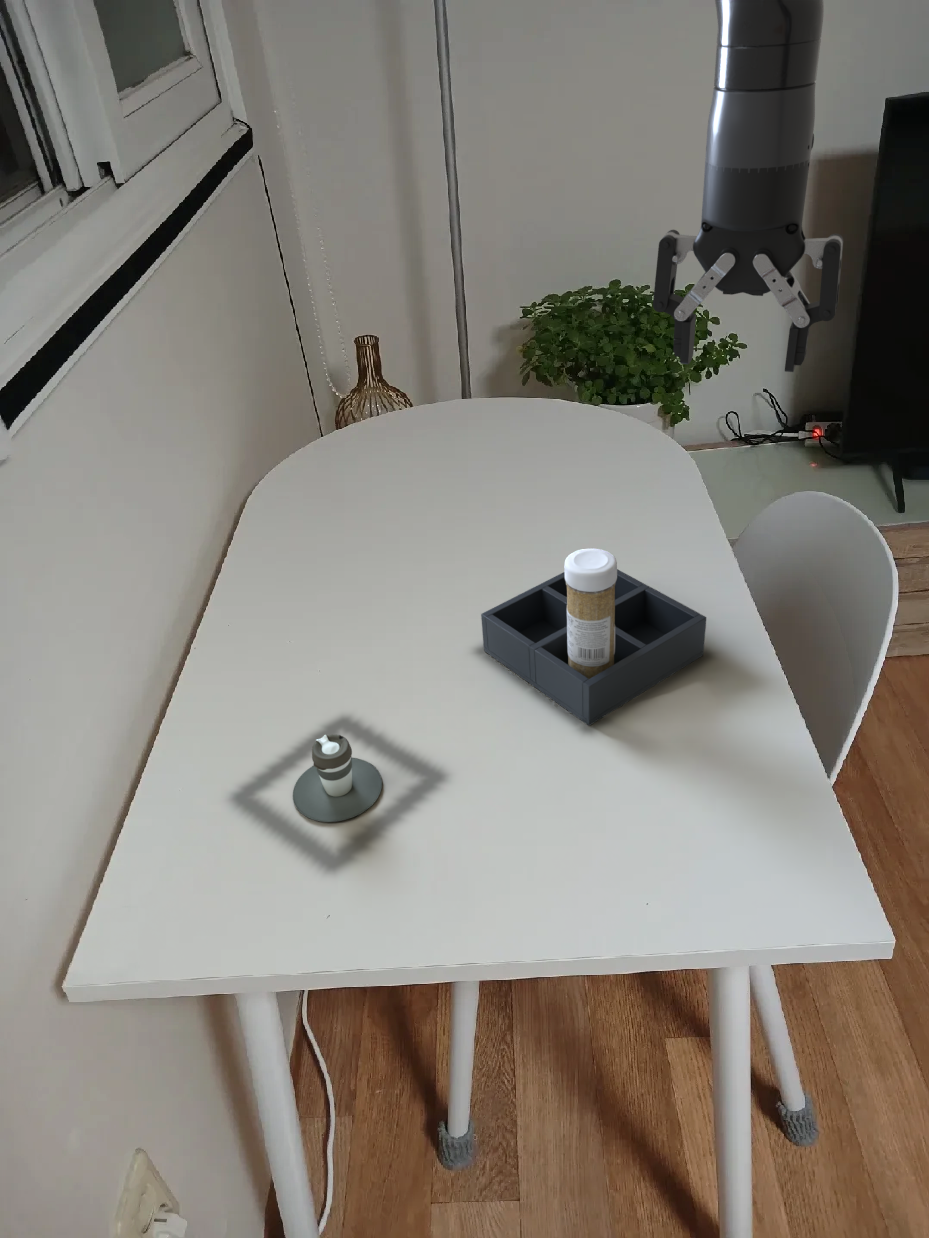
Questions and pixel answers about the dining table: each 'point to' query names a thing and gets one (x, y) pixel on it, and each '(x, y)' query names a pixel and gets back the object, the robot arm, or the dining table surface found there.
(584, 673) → the sprinkles bottle
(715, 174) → the robot arm
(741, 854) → the dining table surface
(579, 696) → the divided storage tray
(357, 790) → the coffee cup
